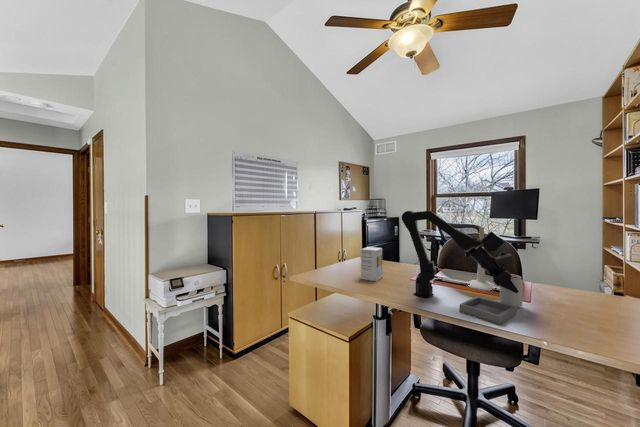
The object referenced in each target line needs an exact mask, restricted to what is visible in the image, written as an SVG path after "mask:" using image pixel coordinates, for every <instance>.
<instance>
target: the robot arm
mask: <svg viewBox="0 0 640 427" xmlns="http://www.w3.org/2000/svg"><path fill="white" fill-rule="evenodd" d="M401 220H402V224H403V225H404V227H405V228H406V229H407V230H408V232H409V235H410V238H411V241H412V244H413V246H414V249H415V253H416V256H417V258H418V261H419V262H418V263H419V271H420V272H419V273H418V274H417V276H416V277H415V292H413V295H414V296H416V297H417V296H418V297H420V298H424V299H428V298H431V297H434V293H433V292H434V290H433V286H432V285H433V283H432V282H431V281H433V280H434V279H435V276H436V273H437V267H436V266H435V261H434V260H432V261H431V260H430V259H429V257H428V253H427V251H426V247H425V246H424V243H423V240H422V236H421V234H420V231H419V228H418V227H419V226H418V222H419V221H424V220H428V222H430V223H432V224H433V225H435V226H436V227H437V228H439V230H441V231H442V232H444V233H445V234H447V235H448V236H449V237H450V238H451V239H452V240H453V241H454V242H455V243H456V244H457V245H458V247H460V248H461V249H462V250H464V257H465V259H468V258H470V257H471V258H472V259H473V260H474V261H475V262H476V263H477V265H478V264H479V265H480V266H481V267H482V268H483V269H485V272H486V273H487V274H488V276H489V277H491V279H492V280H491V281H492V282H493V284H494V285H495V286H496V287H497V286H498V287H500V286H501V287H504V288H506V289H508V290H511V291H513V292H515V293H518V292H519V291H518V289H517V288H516V287H515V285H514V284H513V283H512V281H511V277H512V276H511V274H512V273H510V272H509V270H507V268H506V267H505V266H507V265H514V264H516V260H515V258H514V256H513V254H512V253H506V252H505V251H501V252H499V256H498V255H497V256H496V257H495V256H494V255H491V254H490V252H493V253H495V252H496V251H497V250H499V249H500V248H501V247H503V246H505V244H506V242H505V241H504V240H503V239H502V238H500V236H498V235H497V234H496V233H495V232H493V231H492V230H491V231H489V232H488V233H487V234H486V235H484V238H482V239H479V238H478V237H477V238H476V237H472V236H471V235H469V234H468V233H465V232H464V231H462V230H460V229H457V228H456V227H454V226H452V225H451V224H449V223H448V222H447V221H445V220H444V219H443V218H442V217H440V216H438V215H437V214H436V213H434V212H433V211H432V210H430V209H429V210H424V211H413V210H406V211H404V212H403V213H402V214H401ZM482 246H483V247H484V249H483V248H482ZM486 250H487V251H486ZM488 252H489V253H488Z"/></svg>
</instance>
